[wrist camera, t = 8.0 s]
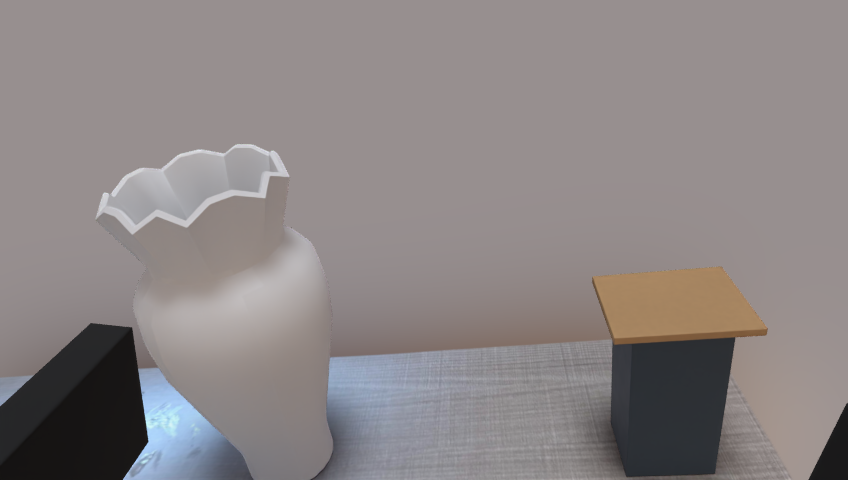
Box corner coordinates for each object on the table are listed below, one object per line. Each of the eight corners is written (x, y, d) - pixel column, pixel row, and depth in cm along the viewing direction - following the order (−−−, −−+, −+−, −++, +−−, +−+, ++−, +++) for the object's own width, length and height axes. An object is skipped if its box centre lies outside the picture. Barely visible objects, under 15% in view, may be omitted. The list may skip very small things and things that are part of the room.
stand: (703, 409, 52) (721, 266, 45) (739, 483, 45) (768, 328, 38) (592, 414, 53) (592, 276, 46) (610, 487, 46) (613, 338, 39)
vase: (190, 532, 48) (31, 233, 35) (240, 406, 61) (139, 152, 48) (359, 518, 47) (265, 204, 34) (374, 392, 60) (310, 128, 46)
